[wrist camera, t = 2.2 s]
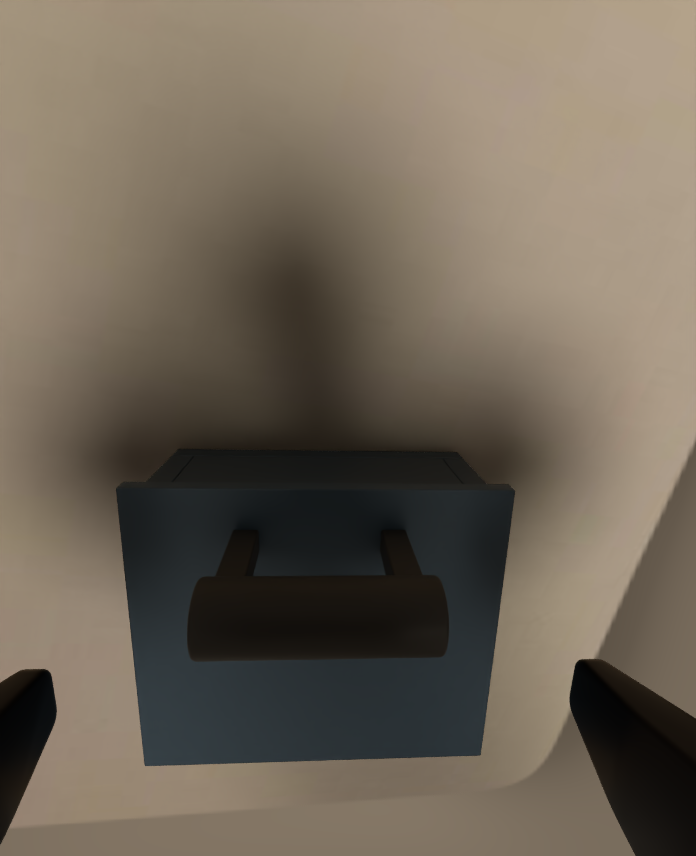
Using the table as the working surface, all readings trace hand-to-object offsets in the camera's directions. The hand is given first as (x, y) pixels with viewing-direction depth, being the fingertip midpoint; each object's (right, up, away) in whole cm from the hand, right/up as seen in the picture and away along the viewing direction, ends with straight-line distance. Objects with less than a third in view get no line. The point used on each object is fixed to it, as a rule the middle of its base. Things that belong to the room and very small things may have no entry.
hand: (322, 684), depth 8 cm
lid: (0, -2, +6) cm, 6 cm away
